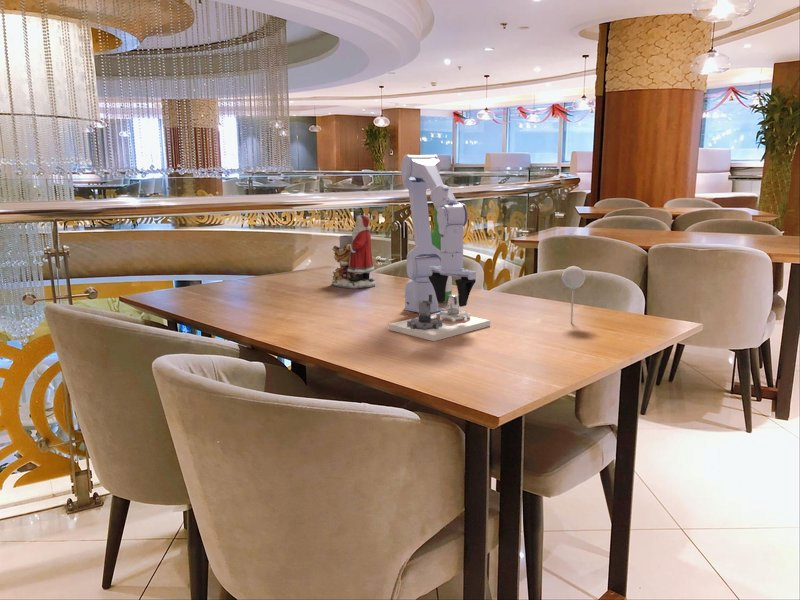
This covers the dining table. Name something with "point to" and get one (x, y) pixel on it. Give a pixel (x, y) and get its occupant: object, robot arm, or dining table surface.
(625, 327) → the dining table surface
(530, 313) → the dining table surface
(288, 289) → the dining table surface
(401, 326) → the gear board
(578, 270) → the lollipop
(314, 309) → the dining table surface
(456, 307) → the aluminium gear
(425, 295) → the robot arm
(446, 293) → the wine bottle
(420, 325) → the crank gear
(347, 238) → the santa figurine
